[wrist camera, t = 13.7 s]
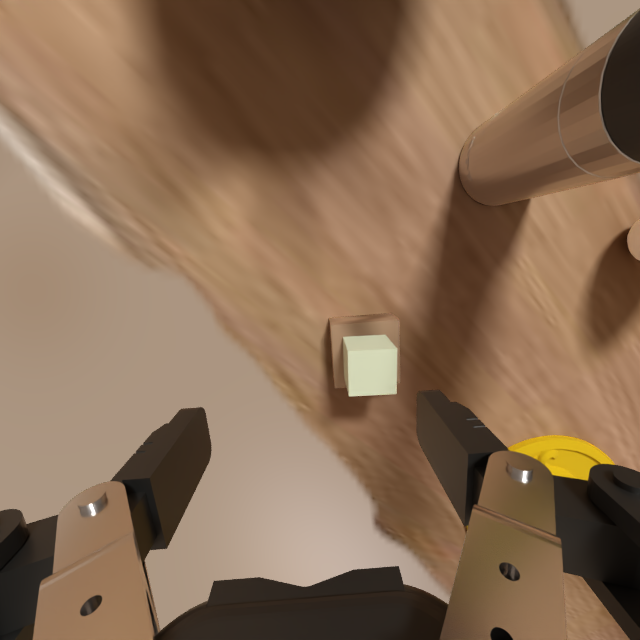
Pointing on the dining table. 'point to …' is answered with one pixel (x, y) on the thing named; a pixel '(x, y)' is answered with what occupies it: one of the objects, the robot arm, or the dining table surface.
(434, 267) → the dining table surface
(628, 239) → the sauce bottle
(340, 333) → the tan square block
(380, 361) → the sage wooden cube
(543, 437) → the decorative medallion
